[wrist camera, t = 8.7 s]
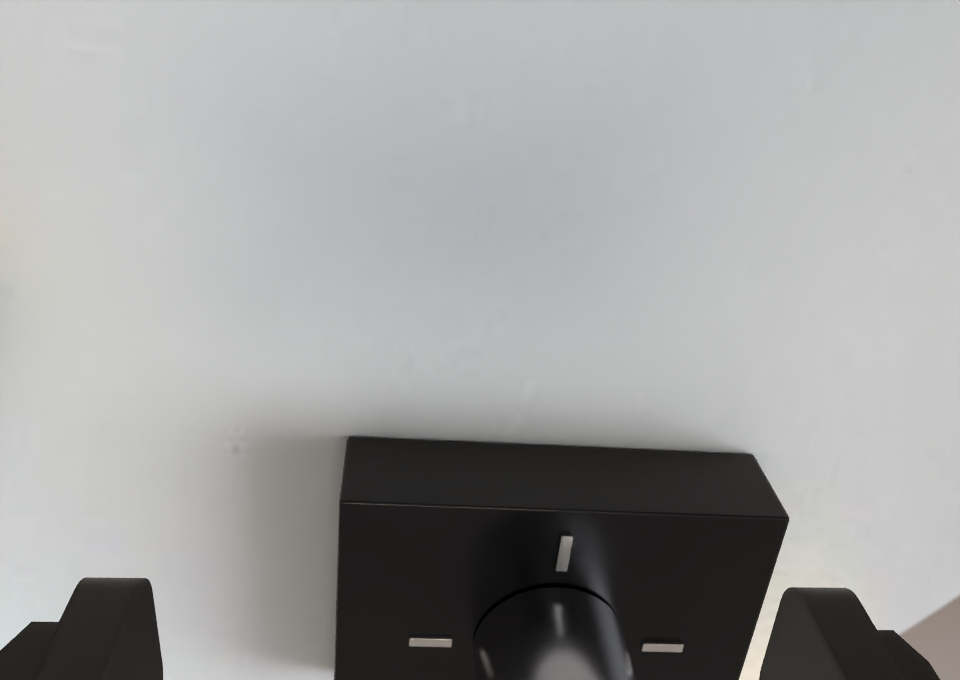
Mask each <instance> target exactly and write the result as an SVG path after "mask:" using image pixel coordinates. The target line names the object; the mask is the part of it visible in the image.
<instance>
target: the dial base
mask: <svg viewBox="0 0 960 680" xmlns="http://www.w3.org/2000/svg"><path fill="white" fill-rule="evenodd" d="M788 522H789V516H788V514H787V513H786V511H785V509H784V507H783V506H782V504H781V502H780V500H779V499H778V497H777V495H776V494H775V492H774V490H773V488H772V487H771V485H770V483H769V481H768V480H767V478H766V476H765V474H764V473H763V471H762V469H761V467H760V466H759V464H758V462H757V460H756V459H755V457H754V456H753V455H741V454H719V453H697V452H674V451H652V450H629V449H607V448H584V447H562V446H539V445H517V444H494V443H472V442H449V441H427V440H404V439H382V438H359V437H349V438H348V439H347V444H346V452H345V460H344V468H343V477H342V485H341V493H340V501H339V533H338V567H337V601H336V636H335V670H334V680H475V673H474V659H473V642H474V637H475V634H476V632H477V629H478V627H479V625H480V624H481V622H482V621H483V619H484V618H485V617H486V616H487V614H488V613H489V612H490V611H492V610H493V609H494V608H495V607H496V606H498V605H499V604H500V603H502V602H503V601H505V600H507V599H509V598H510V597H513V596H515V595H517V594H520V593H523V592H526V591H529V590H534V589H539V588H547V587H562V588H571V589H576V590H580V591H583V592H586V593H589V594H591V595H593V596H595V597H597V598H598V599H600V600H602V601H603V602H604V603H605V604H607V605H608V606H609V607H610V608H611V609H612V611H613V612H614V613H615V614H616V616H617V618H618V619H619V622H620V624H621V627H622V630H623V634H624V638H625V642H626V645H627V649H628V653H629V656H630V660H631V664H632V668H633V671H634V675H635V679H636V680H739V677H740V674H741V671H742V668H743V664H744V661H745V658H746V655H747V652H748V649H749V645H750V642H751V639H752V636H753V633H754V630H755V627H756V623H757V620H758V617H759V614H760V611H761V608H762V604H763V601H764V598H765V595H766V592H767V589H768V586H769V582H770V579H771V576H772V573H773V570H774V567H775V563H776V560H777V557H778V554H779V551H780V548H781V545H782V541H783V538H784V535H785V532H786V529H787V526H788Z"/></svg>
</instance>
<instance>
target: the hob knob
mask: <svg viewBox="0 0 960 680" xmlns="http://www.w3.org/2000/svg"><path fill="white" fill-rule="evenodd" d="M473 659H474V673H475V680H636V679H635V675H634V671H633V668H632V664H631V660H630V656H629V653H628V649H627V645H626V642H625V638H624V634H623V630H622V627H621V624H620V622H619V619H618V618H617V616H616V614H615V613H614V612H613V611H612V609H611V608H610V607H609V606H608V605H607V604H605V603H604V602H603V601H602V600H600V599H598V598H597V597H595V596H593V595H591V594H589V593H586V592H583V591H580V590H576V589H571V588H562V587H547V588H539V589H534V590H529V591H526V592H523V593H520V594H517V595H515V596H513V597H510V598H509V599H507V600H505V601H503V602H502V603H500V604H499V605H498V606H496V607H495V608H494V609H493V610H492V611H490V612H489V613H488V614H487V616H486V617H485V618H484V619H483V621H482V622H481V624H480V625H479V627H478V629H477V632H476V634H475V637H474V642H473Z"/></svg>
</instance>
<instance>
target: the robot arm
mask: <svg viewBox="0 0 960 680" xmlns="http://www.w3.org/2000/svg"><path fill="white" fill-rule="evenodd" d="M0 680H163V665H162V657H161V650H160V643H159V635H158V628H157V621H156V614H155V606H154V599H153V592H152V587H151V584H150V581H149V580H148V579H146V578H83V579H82V580H81V581H80V582H79V583H78V585H77V586H76V588H75V590H74V592H73V594H72V596H71V598H70V600H69V602H68V604H67V606H66V609H65V611H64V613H63V615H62V617H61V619H60V621H59V622H31V623H30V624H29V625H28V626H27V627H25V628H24V629H23V630H22V631H21V632H20V633H19V634H18V635H17V636H16V637H15V638H13V639H12V640H11V641H10V642H9V643H8V644H7V645H6V646H5V647H4V648H3V649H2V650H0ZM759 680H940V679H939V677H938V676H937V674H936V672H935V671H934V669H933V668H932V666H931V665H930V663H929V662H928V661H927V660H926V659H925V658H924V657H923V656H921V655H920V654H919V653H918V652H917V651H916V650H915V649H914V648H912V647H911V646H910V645H909V644H908V643H907V642H906V641H905V640H904V639H902V638H901V637H900V636H899V635H898V634H897V633H896V632H895V631H893V630H877V629H876V628H875V626H874V624H873V623H872V621H871V619H870V618H869V616H868V614H867V613H866V611H865V609H864V607H863V606H862V604H861V602H860V601H859V599H858V598H857V596H856V595H855V594H854V593H853V592H852V591H851V590H849V589H847V588H796V587H792V588H788V589H787V590H786V591H785V592H784V594H783V596H782V598H781V601H780V605H779V608H778V612H777V615H776V619H775V622H774V626H773V629H772V632H771V636H770V639H769V643H768V646H767V650H766V653H765V657H764V660H763V664H762V667H761V671H760V678H759Z"/></svg>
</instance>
